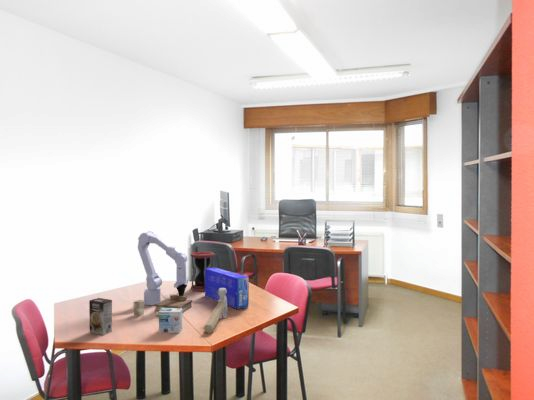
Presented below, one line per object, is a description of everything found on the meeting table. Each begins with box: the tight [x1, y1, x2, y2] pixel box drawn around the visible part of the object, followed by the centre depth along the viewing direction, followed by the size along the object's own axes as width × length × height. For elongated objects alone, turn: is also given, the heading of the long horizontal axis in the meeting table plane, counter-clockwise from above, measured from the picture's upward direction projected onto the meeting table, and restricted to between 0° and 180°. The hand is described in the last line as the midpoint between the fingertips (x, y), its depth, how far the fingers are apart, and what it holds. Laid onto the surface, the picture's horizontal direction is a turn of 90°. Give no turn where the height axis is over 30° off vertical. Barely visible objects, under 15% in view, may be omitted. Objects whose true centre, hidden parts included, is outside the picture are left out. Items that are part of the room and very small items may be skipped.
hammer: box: [203, 288, 228, 334], centre depth 231 cm, size 16×5×30 cm
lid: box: [154, 294, 193, 308], centre depth 257 cm, size 17×14×4 cm
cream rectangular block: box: [133, 299, 145, 317], centre depth 246 cm, size 4×4×8 cm
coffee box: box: [88, 297, 113, 336], centre depth 218 cm, size 9×6×16 cm
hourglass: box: [190, 251, 215, 292], centre depth 306 cm, size 16×16×25 cm
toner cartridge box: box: [204, 267, 250, 310], centre depth 275 cm, size 39×8×18 cm, turn 37°
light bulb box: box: [158, 308, 183, 334], centre depth 220 cm, size 11×7×11 cm, turn 90°
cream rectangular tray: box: [154, 301, 193, 317], centre depth 254 cm, size 16×21×3 cm
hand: (181, 296), depth 266 cm, fingers closed
